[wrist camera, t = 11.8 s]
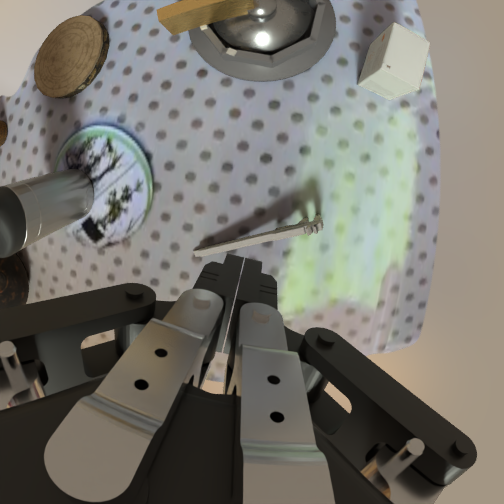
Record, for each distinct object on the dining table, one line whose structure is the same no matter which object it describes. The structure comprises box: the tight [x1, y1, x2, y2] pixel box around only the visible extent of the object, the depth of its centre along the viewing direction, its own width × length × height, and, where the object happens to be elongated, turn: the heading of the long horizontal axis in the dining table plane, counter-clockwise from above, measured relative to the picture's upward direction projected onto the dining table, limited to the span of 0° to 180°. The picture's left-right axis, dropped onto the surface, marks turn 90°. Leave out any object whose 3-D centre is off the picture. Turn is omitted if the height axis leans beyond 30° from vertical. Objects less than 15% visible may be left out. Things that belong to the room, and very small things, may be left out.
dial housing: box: [188, 0, 336, 82], centre depth 31 cm, size 22×22×4 cm
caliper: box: [193, 214, 323, 257], centre depth 43 cm, size 20×1×6 cm, turn 109°
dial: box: [157, 0, 311, 55], centre depth 28 cm, size 20×14×9 cm
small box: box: [357, 22, 430, 100], centre depth 30 cm, size 8×6×10 cm
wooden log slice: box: [34, 15, 109, 98], centre depth 35 cm, size 16×16×3 cm
